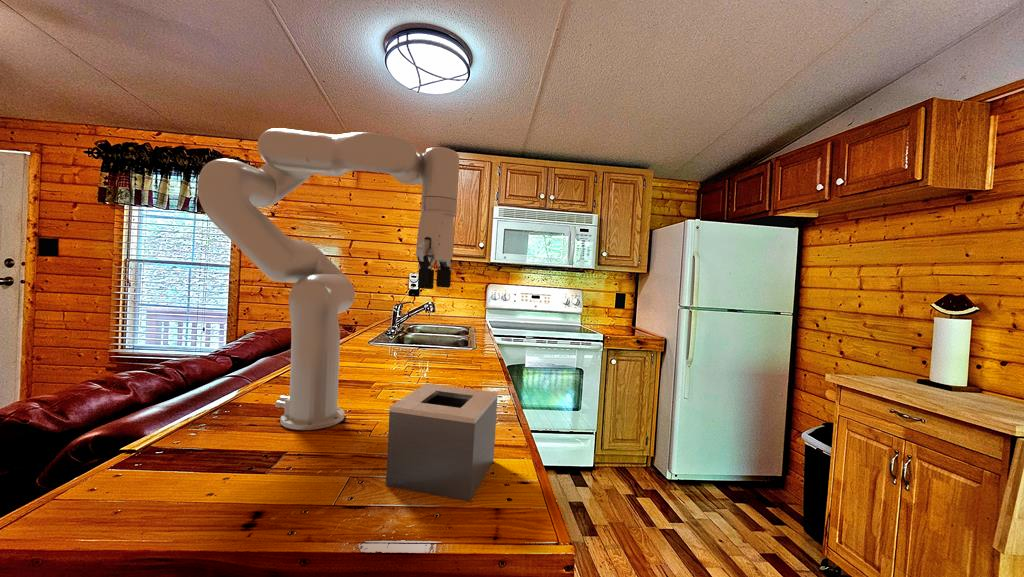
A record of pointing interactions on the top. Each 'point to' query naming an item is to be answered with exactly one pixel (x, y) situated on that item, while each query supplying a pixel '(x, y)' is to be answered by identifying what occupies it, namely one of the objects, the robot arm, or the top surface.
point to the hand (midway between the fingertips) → (434, 287)
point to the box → (441, 440)
